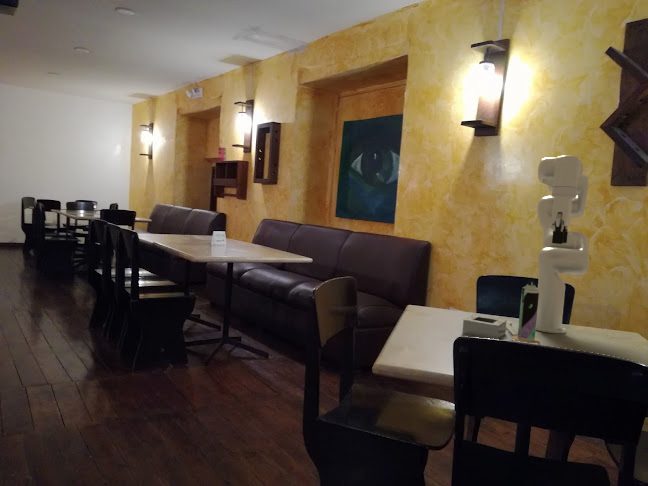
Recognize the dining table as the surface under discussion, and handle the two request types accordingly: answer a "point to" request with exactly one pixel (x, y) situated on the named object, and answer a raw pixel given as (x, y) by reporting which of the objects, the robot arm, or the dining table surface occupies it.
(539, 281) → the robot arm
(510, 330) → the adjustable wrench
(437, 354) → the dining table surface
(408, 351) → the dining table surface
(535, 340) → the coaster
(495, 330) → the block
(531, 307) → the spray can
